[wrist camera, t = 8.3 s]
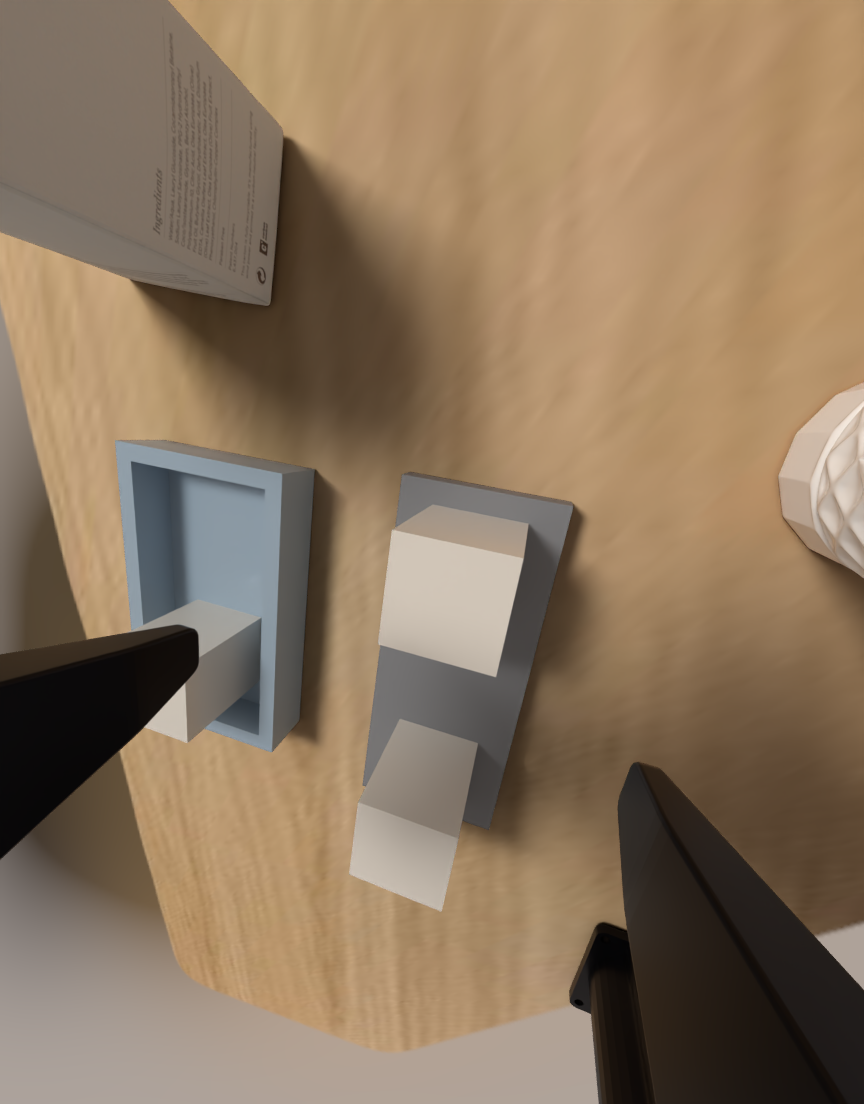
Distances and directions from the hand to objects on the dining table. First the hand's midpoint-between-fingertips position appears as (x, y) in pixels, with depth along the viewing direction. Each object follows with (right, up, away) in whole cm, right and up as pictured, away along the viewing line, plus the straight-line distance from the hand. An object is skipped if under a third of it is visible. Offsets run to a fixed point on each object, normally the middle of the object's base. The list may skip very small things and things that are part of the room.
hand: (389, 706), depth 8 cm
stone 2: (+2, +3, +9) cm, 10 cm away
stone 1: (-11, -2, +15) cm, 18 cm away
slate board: (+2, -2, +12) cm, 12 cm away
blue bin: (-10, +1, +14) cm, 17 cm away
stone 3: (+1, -8, +13) cm, 15 cm away
